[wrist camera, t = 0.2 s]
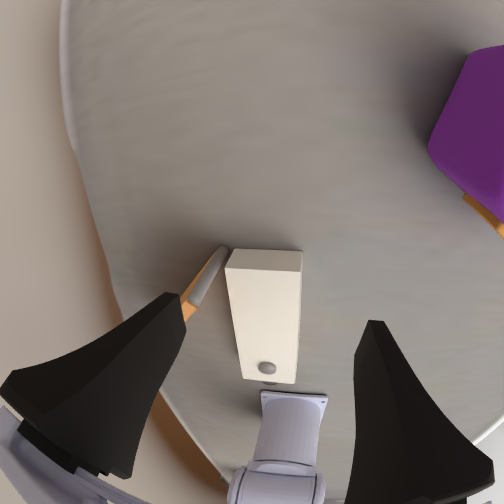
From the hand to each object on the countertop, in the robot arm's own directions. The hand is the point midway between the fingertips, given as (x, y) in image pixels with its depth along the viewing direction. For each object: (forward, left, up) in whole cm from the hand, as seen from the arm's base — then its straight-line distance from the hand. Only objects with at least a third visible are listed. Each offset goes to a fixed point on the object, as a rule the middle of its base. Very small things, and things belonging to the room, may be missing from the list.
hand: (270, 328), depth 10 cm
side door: (-6, +8, -10) cm, 14 cm away
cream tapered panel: (-9, +2, -10) cm, 13 cm away
